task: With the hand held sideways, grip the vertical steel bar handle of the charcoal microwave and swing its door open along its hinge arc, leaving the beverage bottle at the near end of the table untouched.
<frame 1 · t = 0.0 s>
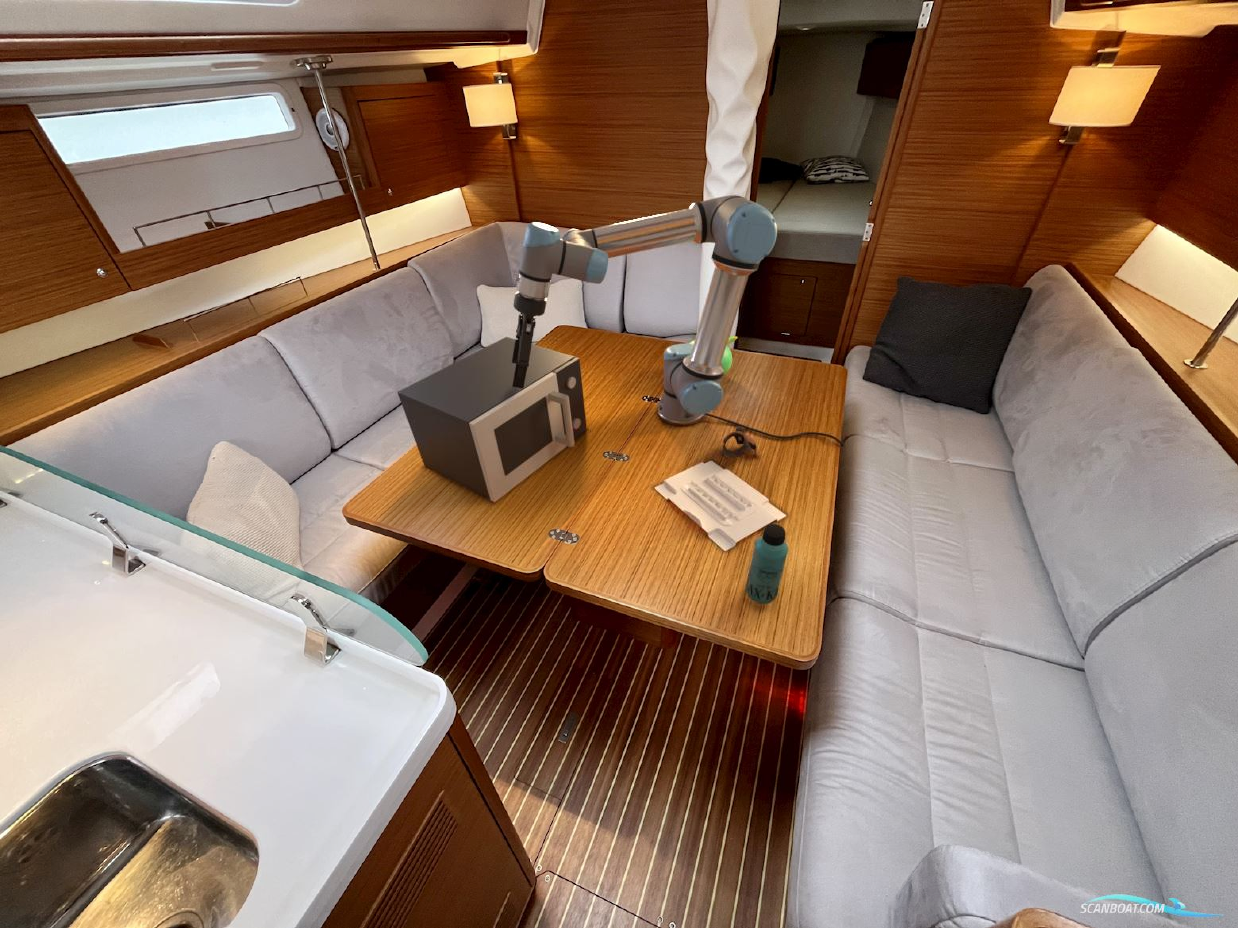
hand: (517, 374, 129), 28 cm above the table, tool tilted 20°, fingers open, 13 cm apart
tray: (717, 501, 128), on the table
beverage bottle: (760, 597, 104), on the table
brown looped piece: (739, 453, 144), on the table
microwave door: (531, 439, 132), point 13 cm above the table, hinge at 0.0°
toy bird: (706, 376, 181), on the table
microwave: (506, 446, 152), on the table
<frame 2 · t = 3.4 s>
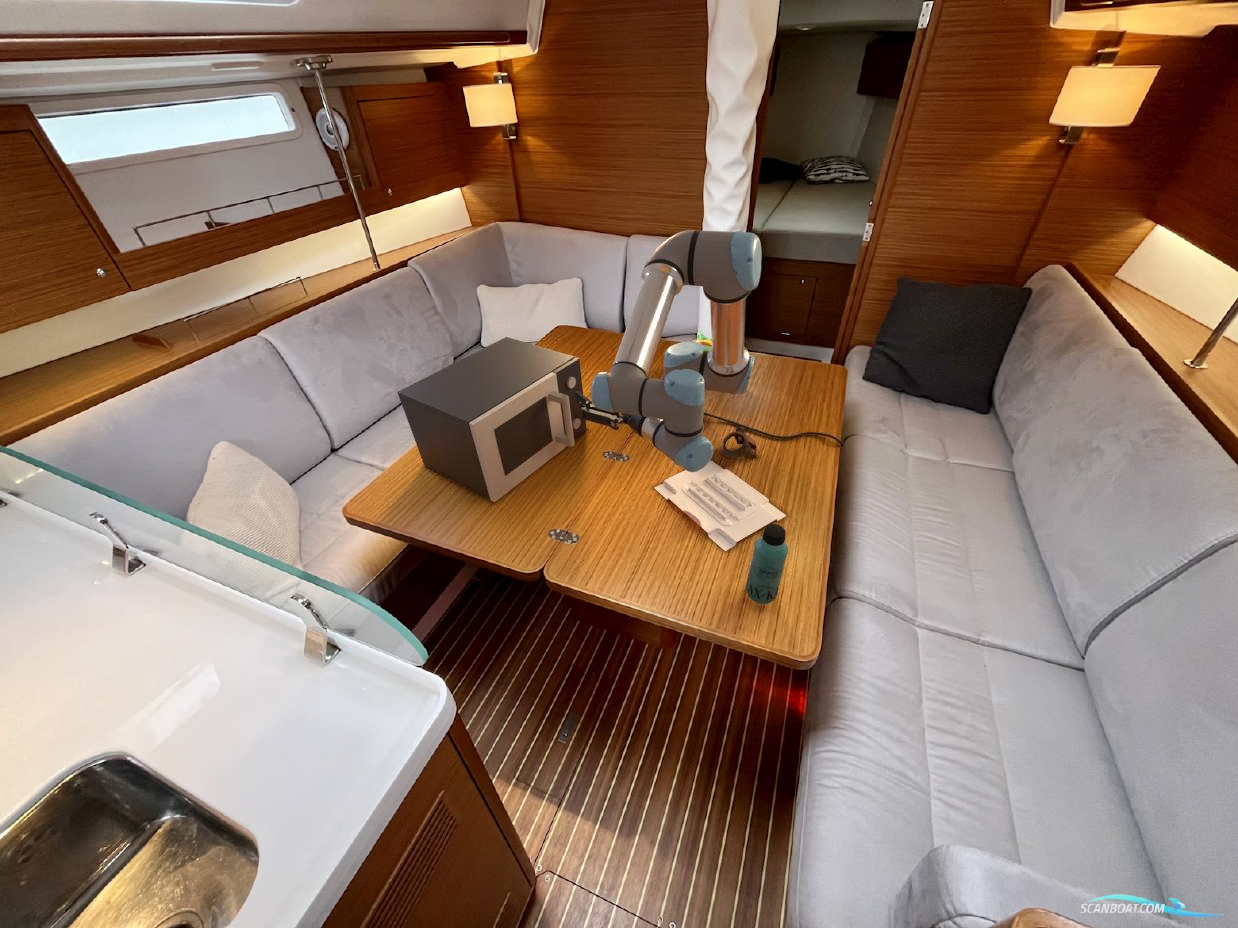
hand: (600, 387, 121), 28 cm above the table, tool horizontal, fingers open, 13 cm apart
nothing on the table moved.
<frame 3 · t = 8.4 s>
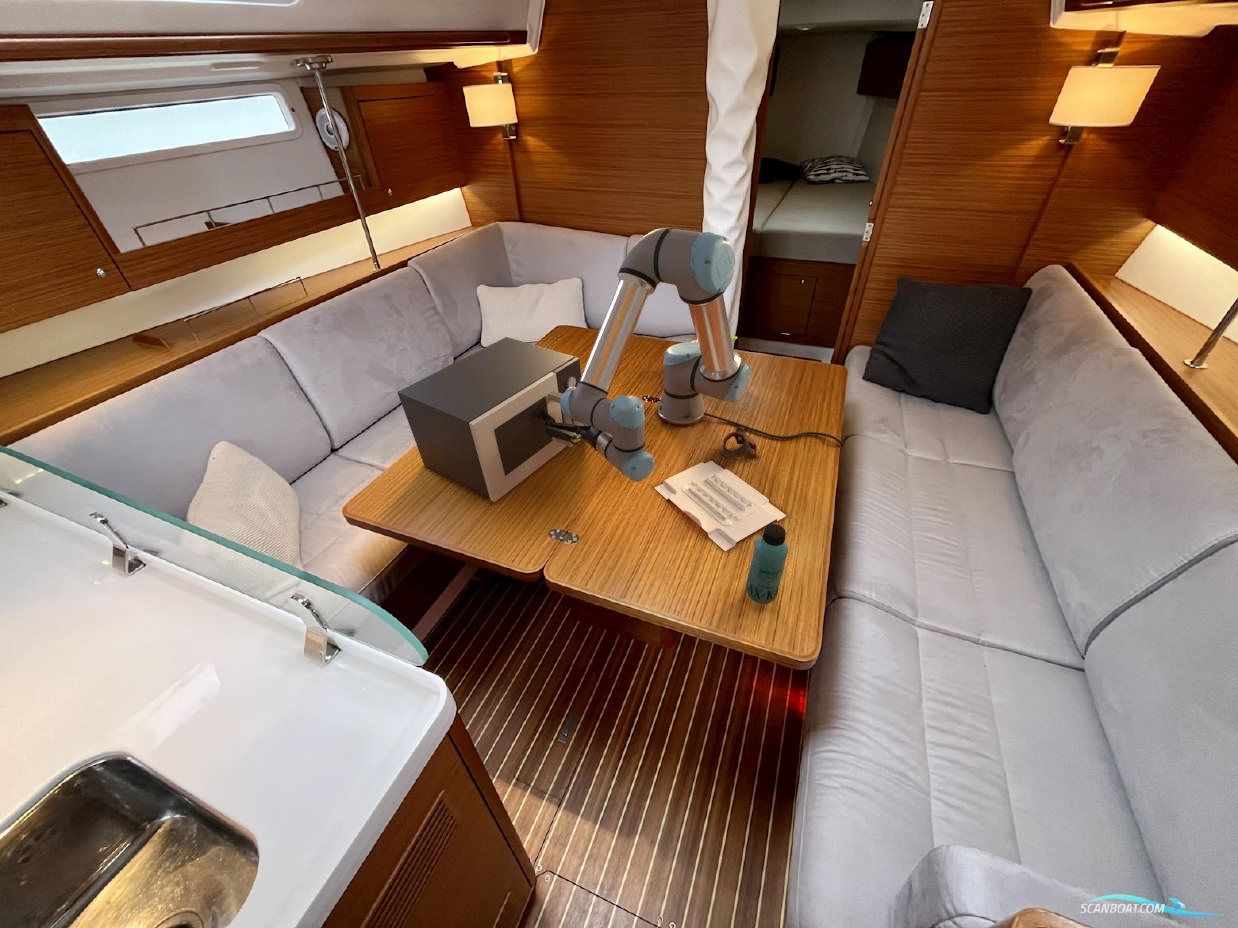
hand: (564, 406, 138), 16 cm above the table, tool horizontal, fingers open, 13 cm apart
microwave door: (531, 439, 132), point 13 cm above the table, hinge at -0.2°, touching gripper
everything else where it was.
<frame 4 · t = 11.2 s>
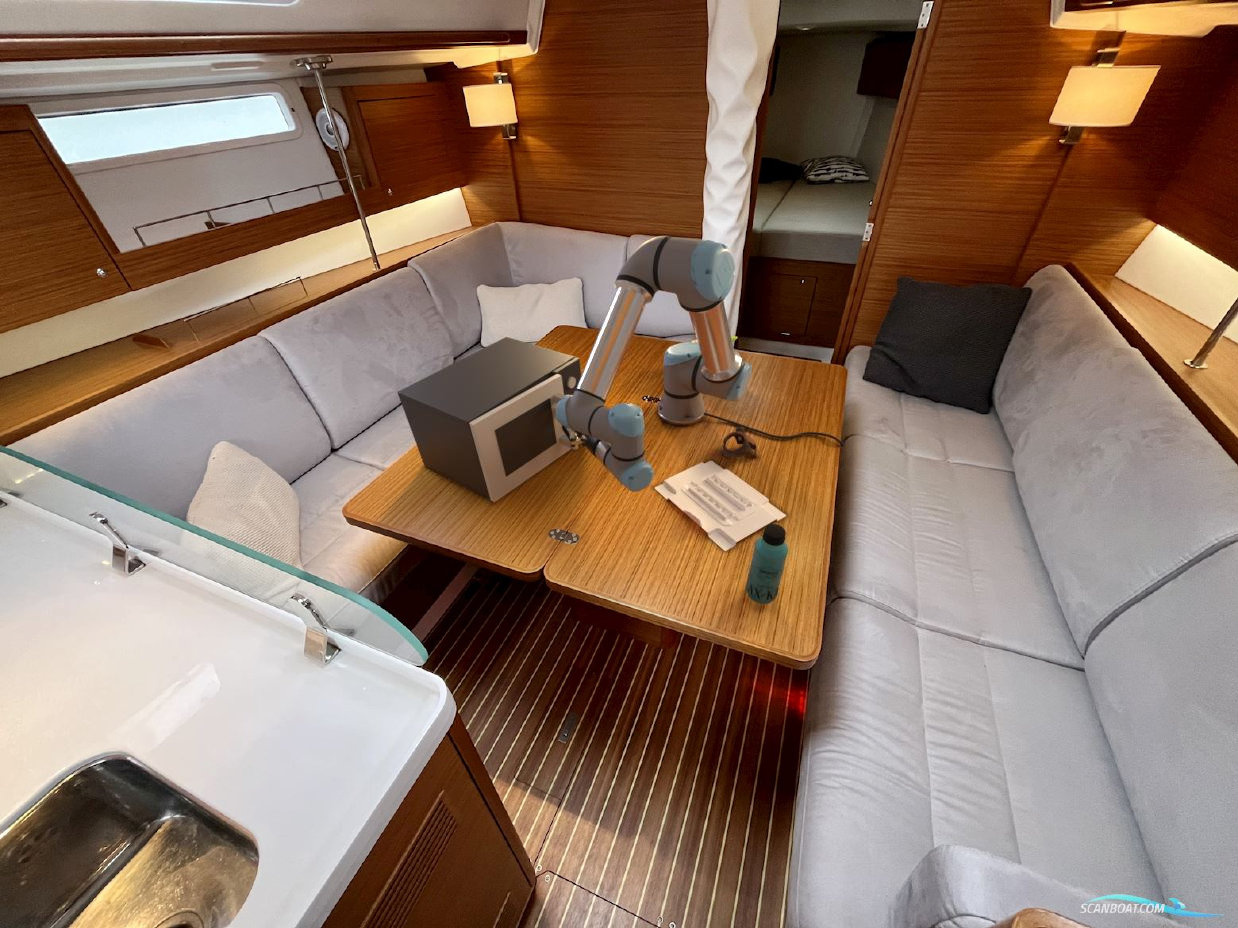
hand: (564, 407, 138), 16 cm above the table, tool horizontal, fingers closed on microwave door, 2 cm apart
microwave door: (533, 441, 132), point 13 cm above the table, hinge at 3.9°, touching gripper
everything else where it was.
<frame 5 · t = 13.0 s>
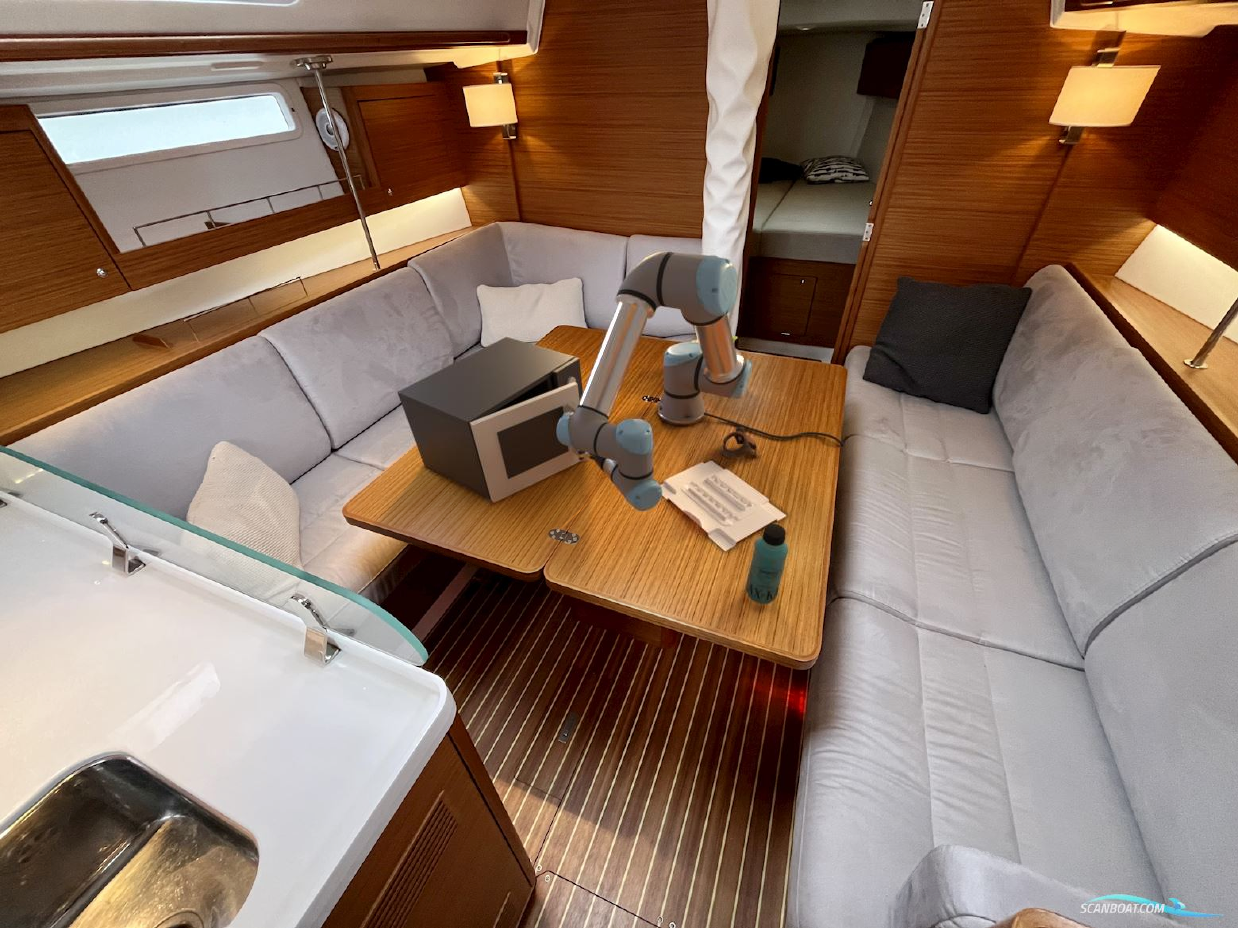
hand: (575, 417, 133), 16 cm above the table, tool horizontal, fingers closed on microwave door, 2 cm apart
microwave door: (539, 447, 129), point 13 cm above the table, hinge at 17.6°, touching gripper
everything else where it was.
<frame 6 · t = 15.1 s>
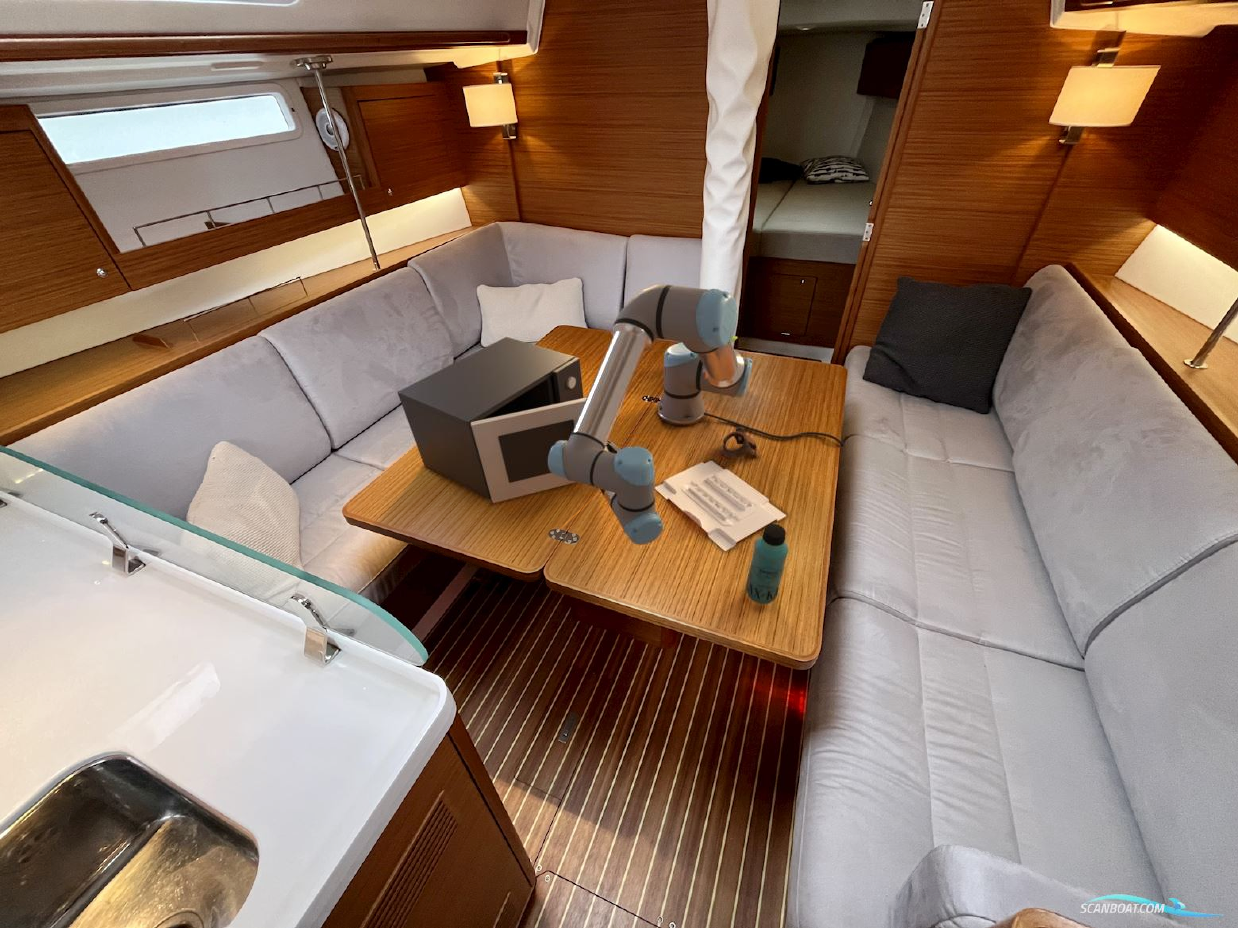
hand: (584, 433, 127), 16 cm above the table, tool horizontal, fingers closed on microwave door, 2 cm apart
microwave door: (542, 457, 126), point 13 cm above the table, hinge at 35.6°, touching gripper
everything else where it was.
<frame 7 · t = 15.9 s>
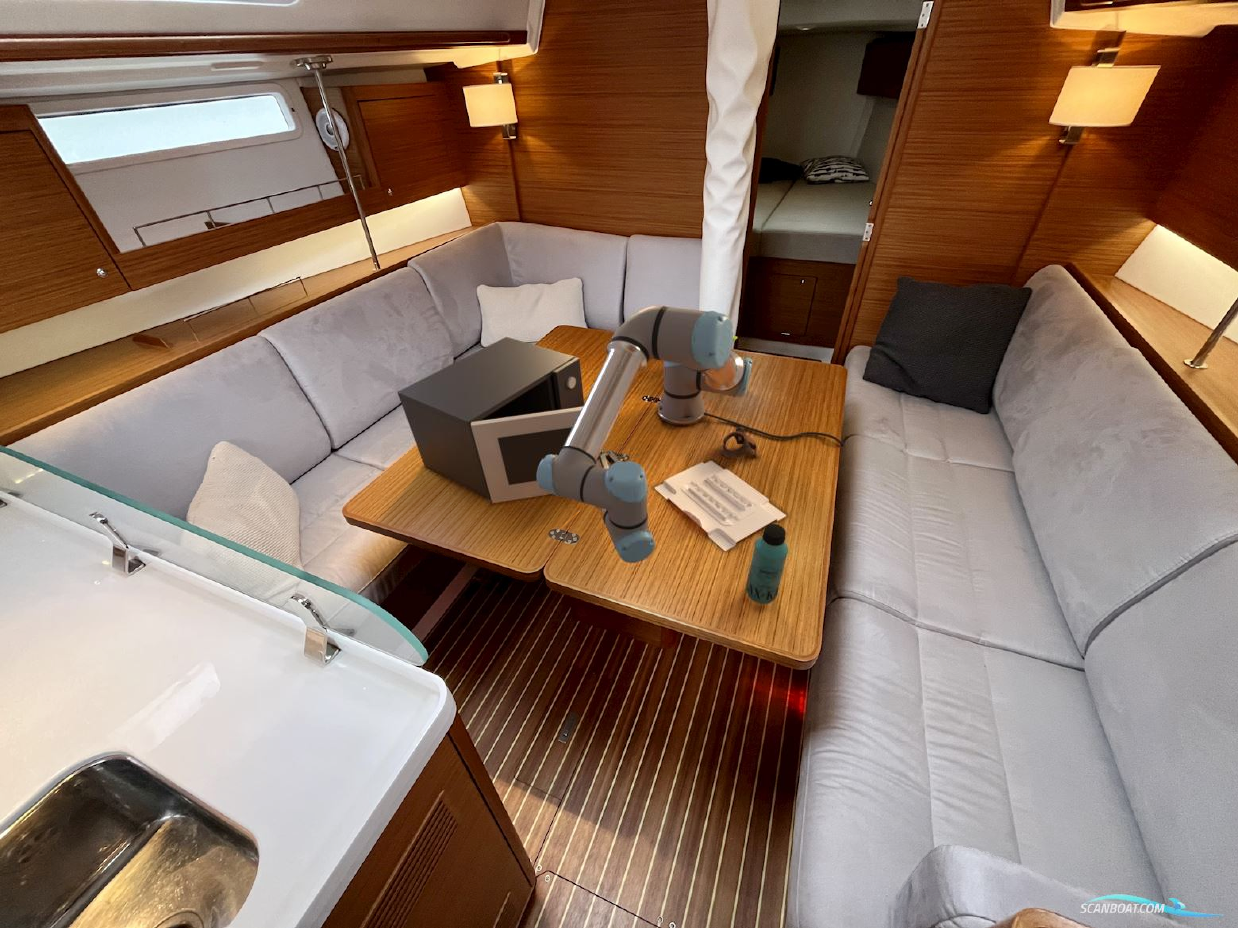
hand: (584, 442, 124), 16 cm above the table, tool horizontal, fingers closed on microwave door, 2 cm apart
microwave door: (542, 463, 124), point 13 cm above the table, hinge at 43.9°, touching gripper
everything else where it was.
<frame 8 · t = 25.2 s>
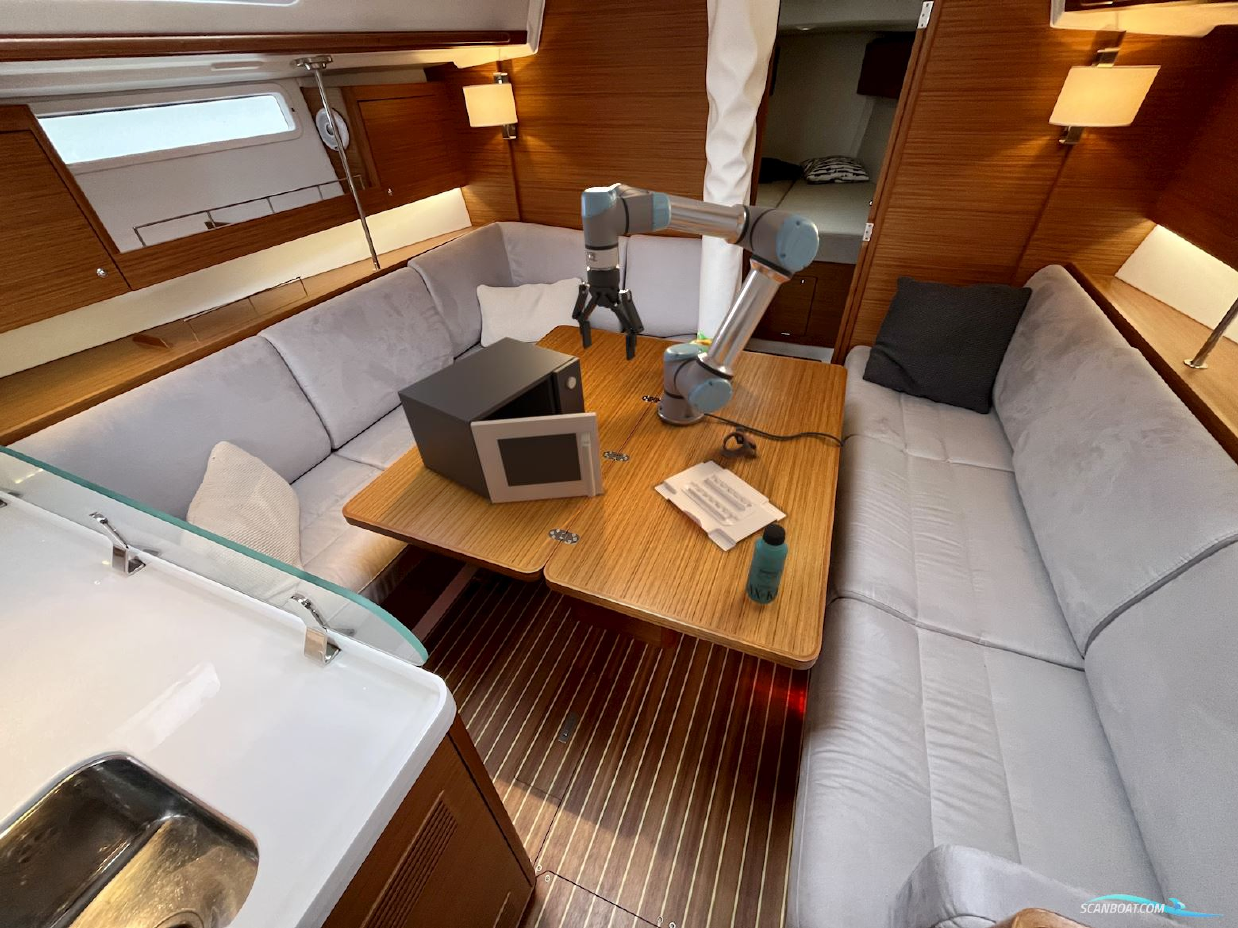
hand: (608, 352, 126), 33 cm above the table, tool pointing down, fingers open, 13 cm apart
microwave door: (540, 467, 123), point 13 cm above the table, hinge at 50.2°
everything else where it was.
at the end: microwave door at +50° (first picture: +0°); beverage bottle moved 0.2 cm from its start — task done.
